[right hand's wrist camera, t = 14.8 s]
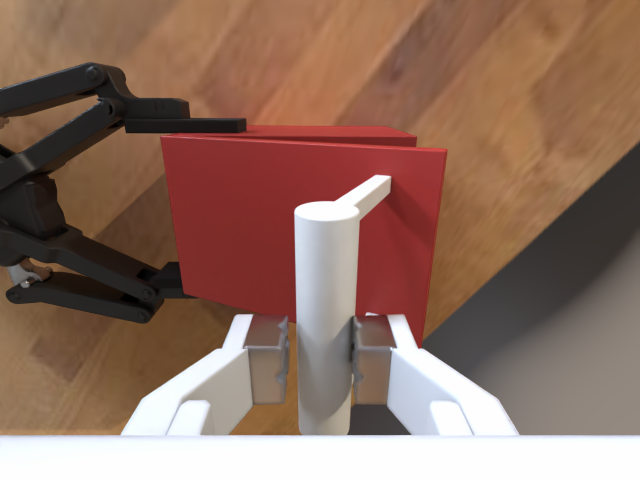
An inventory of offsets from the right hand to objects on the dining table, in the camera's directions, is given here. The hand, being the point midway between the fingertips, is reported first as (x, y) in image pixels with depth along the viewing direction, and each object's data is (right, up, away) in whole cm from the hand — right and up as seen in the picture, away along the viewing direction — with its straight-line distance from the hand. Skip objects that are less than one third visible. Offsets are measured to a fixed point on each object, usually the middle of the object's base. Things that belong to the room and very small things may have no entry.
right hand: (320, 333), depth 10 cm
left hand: (-5, +5, +13) cm, 15 cm away
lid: (-2, +3, +8) cm, 9 cm away
